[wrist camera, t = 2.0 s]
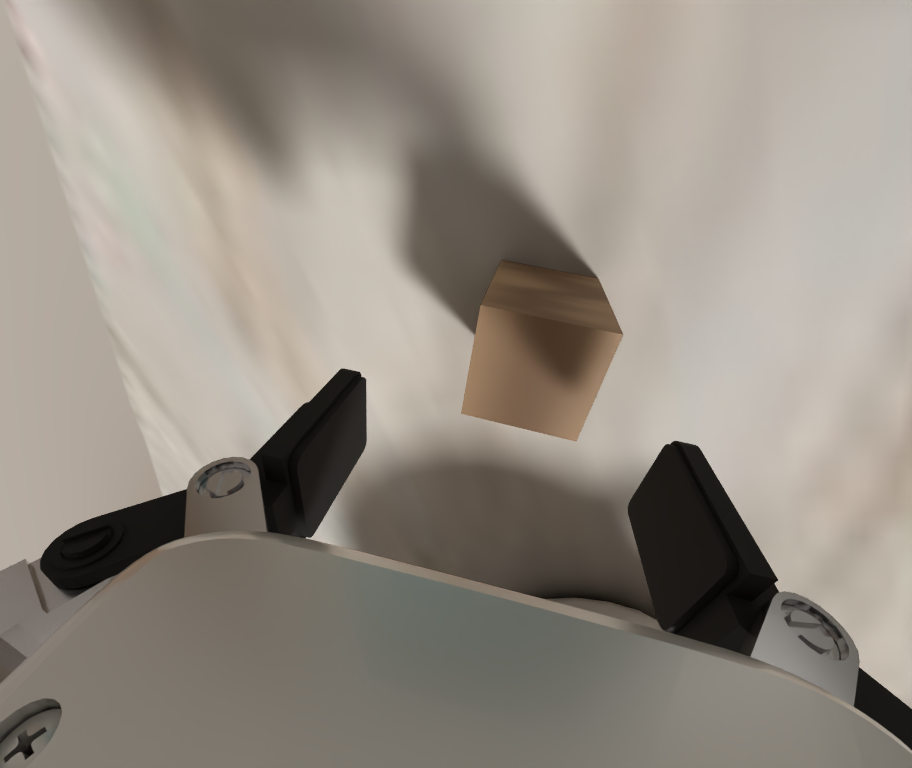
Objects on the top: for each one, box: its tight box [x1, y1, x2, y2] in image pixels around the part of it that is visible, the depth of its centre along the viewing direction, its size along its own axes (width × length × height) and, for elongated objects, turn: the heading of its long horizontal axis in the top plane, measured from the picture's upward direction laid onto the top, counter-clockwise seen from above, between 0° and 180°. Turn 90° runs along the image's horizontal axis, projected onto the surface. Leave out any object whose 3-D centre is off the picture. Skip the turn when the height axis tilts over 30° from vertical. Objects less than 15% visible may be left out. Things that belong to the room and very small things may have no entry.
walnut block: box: [461, 260, 623, 441], centre depth 16 cm, size 5×5×7 cm
